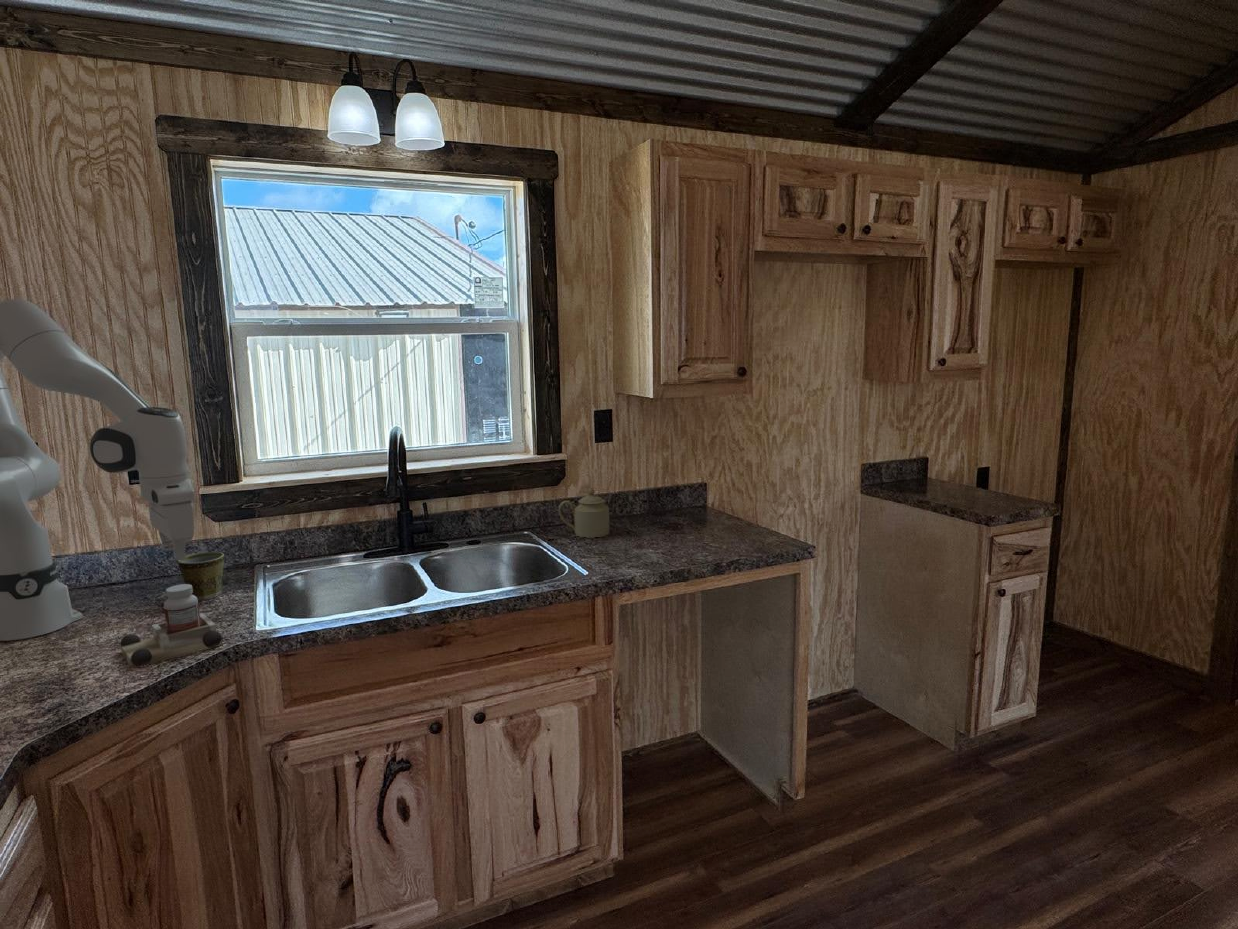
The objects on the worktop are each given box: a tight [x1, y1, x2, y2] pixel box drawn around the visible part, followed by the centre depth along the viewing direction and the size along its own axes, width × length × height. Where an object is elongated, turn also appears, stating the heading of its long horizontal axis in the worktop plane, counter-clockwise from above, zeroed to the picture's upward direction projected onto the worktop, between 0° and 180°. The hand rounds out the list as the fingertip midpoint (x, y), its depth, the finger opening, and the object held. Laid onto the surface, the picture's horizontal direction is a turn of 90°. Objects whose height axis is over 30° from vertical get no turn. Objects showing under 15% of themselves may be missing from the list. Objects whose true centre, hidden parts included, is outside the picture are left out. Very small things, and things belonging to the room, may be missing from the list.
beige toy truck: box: [120, 612, 223, 669], centre depth 155 cm, size 11×16×4 cm
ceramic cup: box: [177, 551, 225, 601], centre depth 187 cm, size 13×10×10 cm
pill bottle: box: [163, 583, 201, 635], centre depth 155 cm, size 6×6×11 cm
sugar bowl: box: [558, 487, 610, 539], centre depth 236 cm, size 15×11×15 cm
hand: (174, 554), depth 153 cm, fingers open, 8 cm apart
